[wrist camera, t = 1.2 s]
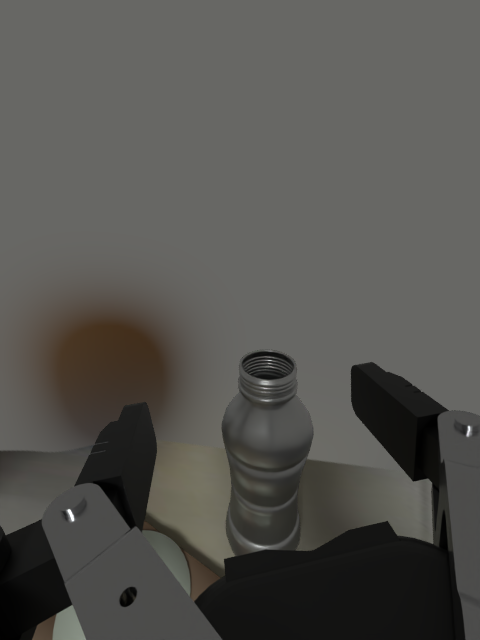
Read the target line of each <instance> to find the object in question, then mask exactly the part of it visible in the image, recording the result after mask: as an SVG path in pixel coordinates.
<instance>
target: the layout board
mask: <svg viewBox="0 0 480 640" xmlns="http://www.w3.org/2000/svg"><path fill="white" fill-rule="evenodd" d="M142 534H143V535H144V536H145V538H146V539H147V540H148V542H149V543H150V544H151V546H152V547H153V548H154V550H155V551H156V552H157V554H158V555H159V556H160V558H161V559H162V560H163V562H164V563H165V564H166V566H167V567H168V568H169V569H170V571H171V572H172V573H173V575H174V576H175V577H176V579H177V580H178V581H179V583H180V584H181V585H182V587H183V588H184V589H185V591H186V592H187V593H188V595H189V596H190V597H191V599H192V600H193V601H195V600H196V599H197V598H198V596H199V595H200V594H201V593H202V592H203V591H205V590H206V589H207V588H208V587H209V586H210V585H212V584H213V583H214V582H216V581H217V580H218V579H220V577H219V576H218V575H216V574H215V573H214V572H212V571H211V570H210V569H208V568H207V567H206V566H204V565H203V564H202V563H200V562H199V561H198V560H196V559H195V558H194V557H192V556H191V555H190V554H188V553H187V552H186V551H184V550H183V549H182V548H180V547H179V546H178V545H177V544H176V543H175V542H174V541H173V540H172V539H171V538H169V537H167V536H166V535H164V534H162V533H160V532H159V531H158V530H156V529H155V528H154V527H152V526H151V525H150V524H148V523H147V522H146V521H144V525H143V530H142ZM32 640H86V638H85V635H84V633H83V630H82V628H81V625H80V623H79V620H78V617H77V615H76V612H75V610H74V607H73V605H71V606H70V607H68V608H66V609H64V610H63V611H61V612H59V613H57V614H56V615H54V616H52V617H50V618H49V619H47V620H45V621H43V622H42V623H40V624H38V625H37V628H36V630H35V633H34V636H33V639H32Z"/></svg>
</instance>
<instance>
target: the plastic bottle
mask: <svg viewBox="0 0 480 640" xmlns="http://www.w3.org/2000/svg"><path fill="white" fill-rule="evenodd" d="M296 373H297V368H296V363H295V361H294V360H293V359H292V358H291V357H290V356H288V355H287V354H285V353H282V352H279V351H275V350H257V351H253V352H250V353H248V354H246V355H245V356H243V357H242V359H241V360H240V364H239V375H240V376H239V379H238V388H239V391H240V392H239V393H238V394H237V395H236V396H235V397H234V399H233V400H232V401H231V402H230V404H229V405H228V407H227V409H226V412H225V415H224V417H223V421H222V435H223V441H224V444H225V449H226V453H227V457H228V461H229V466H230V475H231V484H232V487H231V498H230V503H229V507H228V511H227V517H226V534H227V538H228V540H229V543H230V546H231V549H232V551H233V553H234V554H235V556H240V555H244V554H248V553H253V552H257V551H261V550H265V549H268V550H292V551H295V550H296V548H297V546H298V544H299V540H300V518H299V513H298V497H297V492H298V488H299V483H300V478H301V473H302V470H303V467H304V465H305V462H306V459H307V456H308V453H309V451H310V447H311V443H312V439H313V426H312V421H311V418H310V414H309V412H308V410H307V409H306V407H305V406H304V404H303V403H302V401H301V400H300V399H299V398H298V397H297V396H296V393H297V380H296Z"/></svg>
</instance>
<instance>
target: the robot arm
mask: <svg viewBox="0 0 480 640" xmlns="http://www.w3.org/2000/svg"><path fill="white" fill-rule="evenodd" d="M351 402H352V406H353V410H354V411H355V414H356V415H357V417H358V418H359V419H360V420H361V421H362V423H363V424H364V425H365V426H366V427H367V428H368V429H369V431H370V432H371V433H372V434H373V435H374V436H375V438H376V439H377V440H378V441H379V442H380V443H381V444H382V446H383V447H384V448H385V449H386V450H387V452H388V453H389V454H390V455H391V456H392V457H393V458H394V460H395V461H396V462H397V463H398V464H399V465H400V467H401V468H402V469H403V470H404V471H405V472H406V474H407V475H408V476H409V477H410V478H411V479H412V481H413V482H414V481H418V480H423V479H427V478H428V479H429V480H430V481H431V482H432V489H431V498H432V524H433V544H431V543H428V542H425V541H422V540H418V539H415V538H410V537H404V536H397V535H396V533H395V532H394V530H393V529H392V527H391V526H390V524H389V523H388V521H386V522H382V523H377V524H373V525H369V526H364V527H360V528H356V529H352V530H348V531H347V532H345V533H343V534H341V535H340V536H338V537H336V538H334V539H333V540H331V541H329V542H328V543H326V544H324V545H322V546H321V547H319V548H317V549H315V550H313V551H292V550H268V549H265V550H261V551H257V552H253V553H248V554H244V555H240V556H235V557H231V558H227V559H224V564H225V576H224V577H222V578H220V579H218V580H217V581H216V582H214V583H213V584H212V585H210V586H209V587H208V588H207V589H206V590H205V591H203V592H202V593H201V594H200V595H199V596H198V598H197V599H196V600H195V601H193V600H192V599H191V597H190V596H189V595H188V593H187V592H186V591H185V589H184V588H183V587H182V585H181V584H180V583H179V581H178V580H177V579H176V577H175V576H174V575H173V573H172V572H171V571H170V569H169V568H168V567H167V566H166V564H165V563H164V562H163V560H162V559H161V558H160V556H159V555H158V554H157V552H156V551H155V550H154V548H153V547H152V546H151V544H150V543H149V542H148V540H147V539H146V538H145V536H144V535H143V534H142V530H143V525H144V520H145V514H146V509H147V503H148V498H149V492H150V487H151V481H152V476H153V471H154V465H155V460H156V454H157V443H156V437H155V432H154V428H153V424H152V420H151V416H150V412H149V408H148V405H147V403H146V402H143V403H137V404H131V405H126V406H124V408H123V410H122V412H121V415H120V417H119V420H118V421H114V422H110V423H109V424H108V425H107V426H106V427H105V428H104V429H103V430H102V431H101V432H100V434H99V436H98V438H97V440H96V442H95V445H94V446H93V449H92V451H91V455H89V457H88V459H87V461H86V463H85V465H84V467H83V469H82V471H81V473H80V475H79V478H78V480H77V482H76V484H75V486H74V487H72V488H70V489H68V490H67V491H65V492H63V493H62V494H60V495H59V496H58V497H57V498H56V499H55V500H53V501H52V502H51V504H50V505H49V506H48V507H47V509H46V510H45V512H44V514H43V517H42V519H41V520H39V521H37V522H35V523H33V524H31V525H28V526H26V527H24V528H22V529H19V530H17V531H15V532H13V533H10V534H8V535H5V533H4V531H3V529H2V527H1V526H0V640H32V639H33V636H34V633H35V630H36V628H37V625H38V624H40V623H42V622H43V621H45V620H47V619H49V618H50V617H52V616H54V615H56V614H57V613H59V612H61V611H63V610H64V609H66V608H68V607H70V606H71V605H73V607H74V610H75V612H76V615H77V617H78V620H79V623H80V625H81V628H82V630H83V633H84V635H85V638H86V640H480V416H479V415H476V414H473V413H470V412H465V411H455V410H454V411H449V410H447V409H446V408H444V407H443V406H442V405H440V404H439V403H438V402H436V401H435V400H433V399H432V398H431V397H429V396H428V395H426V394H425V393H424V392H421V391H420V390H419V389H418V388H417V387H415V386H412V384H411V383H410V382H408V381H407V380H405V379H404V378H403V377H400V376H398V375H395V374H392V373H390V372H385V371H384V370H383V369H381V368H380V367H379V366H377V365H376V364H375V363H373V362H370V363H364V364H359V365H354V366H352V369H351Z"/></svg>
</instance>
